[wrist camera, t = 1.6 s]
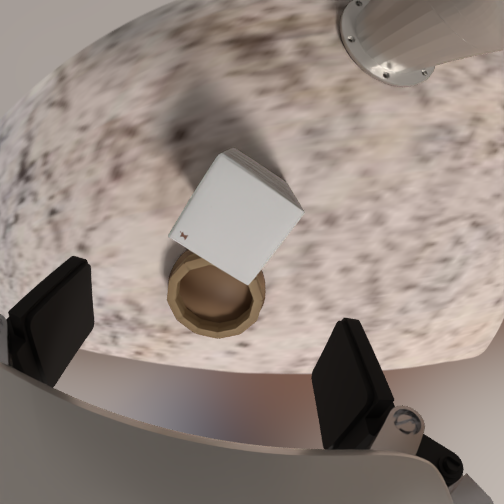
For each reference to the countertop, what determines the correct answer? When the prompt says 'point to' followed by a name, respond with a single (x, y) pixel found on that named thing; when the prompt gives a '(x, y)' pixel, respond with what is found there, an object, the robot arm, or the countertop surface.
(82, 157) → the countertop surface
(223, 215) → the supplement box
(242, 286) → the coaster tray
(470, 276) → the countertop surface
